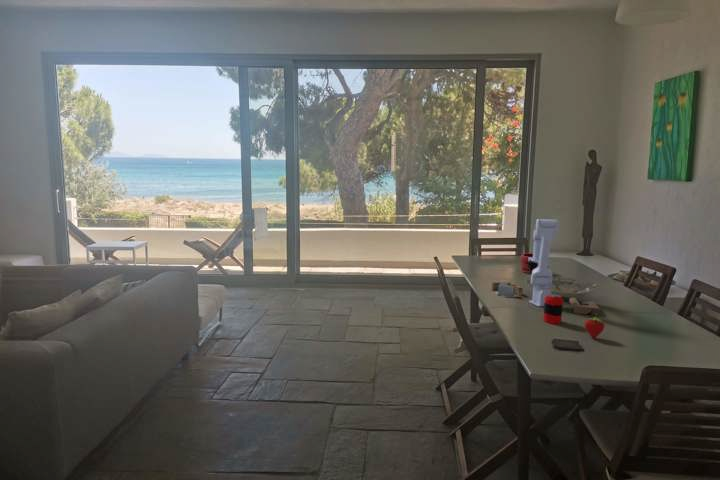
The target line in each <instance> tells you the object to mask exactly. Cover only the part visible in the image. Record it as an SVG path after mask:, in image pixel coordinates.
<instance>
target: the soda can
mask: <svg viewBox="0 0 720 480" xmlns="http://www.w3.org/2000/svg"><path fill="white" fill-rule="evenodd" d="M563 304H564V299H563V296H561V295H560V294H554V293H551V294H548V295H547V296H546V297H545V304H544V306H543V307H544V308H543V318H542V320H543V322H545V323H547V324H551V325H558V324H561V323H562V318H563V317H562V316H563V306H564V305H563Z"/></svg>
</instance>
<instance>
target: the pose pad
mask: <svg viewBox="0 0 720 480" xmlns="http://www.w3.org/2000/svg"><path fill="white" fill-rule="evenodd" d="M494 293H495V294H496V295H498V291H494ZM499 296H500V297H503V298H508V297H509V298H511V297H510V296H502V295H499ZM515 297H517V298H518V297H519V296H518V295H516V294H515V293H514V296H513V297H512V298H515Z"/></svg>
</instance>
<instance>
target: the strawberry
mask: <svg viewBox="0 0 720 480" xmlns="http://www.w3.org/2000/svg"><path fill="white" fill-rule="evenodd" d="M597 316H598V315H595V317H592V318H591V317H588V320H586V321H585V322H584V329H585V330H586V331H587V334H588V335H589V336H590V337H591V338H592V339H595V338H597V337H598V336H599V335H601V334H602V332H603V331H604V330H605V323H604V322H603V321H602V320H601V319H600V318H598V317H597Z"/></svg>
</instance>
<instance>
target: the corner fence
mask: <svg viewBox="0 0 720 480" xmlns="http://www.w3.org/2000/svg"><path fill="white" fill-rule="evenodd" d="M500 283H508V285H509V286H515V288H514V294H515V295H517V296H518V297H522V296H523V287H522V286H520V285H518V284H515V283H513V282H512V281H505V282H504V281H502V282H501V281H500V282H499V281H498V282H497V281H496V282H494V281H493V282H492V283H491V291H492V292H498V286H499V284H500Z"/></svg>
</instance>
